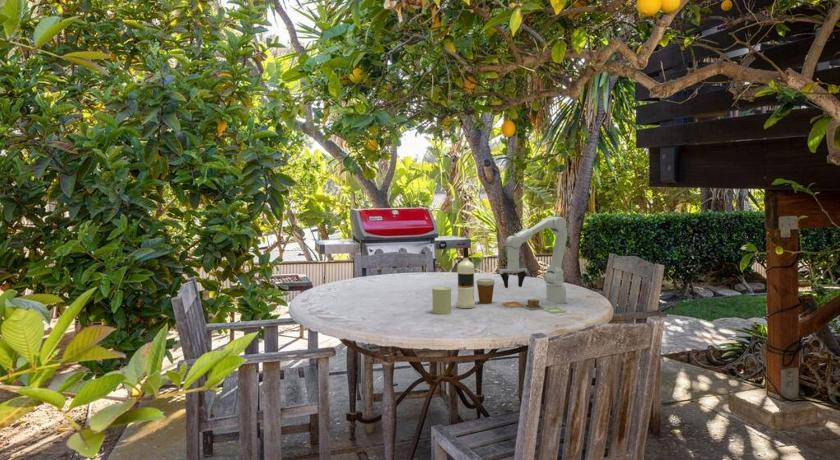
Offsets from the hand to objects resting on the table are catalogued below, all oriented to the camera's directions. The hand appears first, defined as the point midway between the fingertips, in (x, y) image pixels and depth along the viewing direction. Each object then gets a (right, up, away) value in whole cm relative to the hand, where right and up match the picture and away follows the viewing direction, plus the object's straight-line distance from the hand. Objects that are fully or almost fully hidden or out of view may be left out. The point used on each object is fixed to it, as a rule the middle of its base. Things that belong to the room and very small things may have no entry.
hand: (513, 287), depth 290 cm
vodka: (-24, -10, -1) cm, 26 cm away
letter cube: (+9, -10, -6) cm, 14 cm away
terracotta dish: (0, -9, +1) cm, 9 cm away
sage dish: (+17, -10, -13) cm, 24 cm away
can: (-36, -11, -11) cm, 39 cm away
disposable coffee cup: (-13, -9, +8) cm, 18 cm away
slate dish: (+9, -10, -6) cm, 15 cm away
